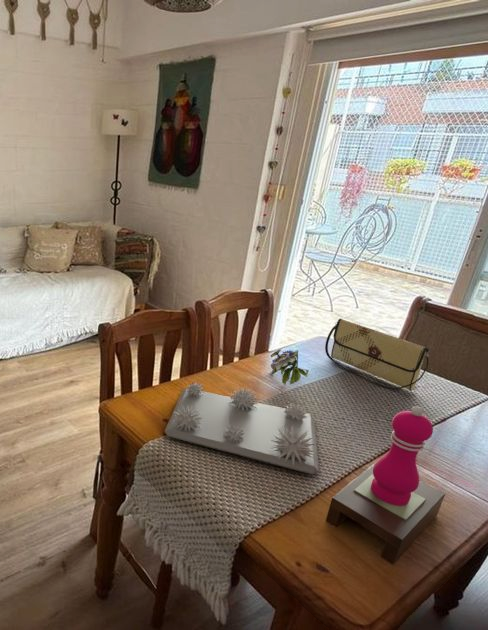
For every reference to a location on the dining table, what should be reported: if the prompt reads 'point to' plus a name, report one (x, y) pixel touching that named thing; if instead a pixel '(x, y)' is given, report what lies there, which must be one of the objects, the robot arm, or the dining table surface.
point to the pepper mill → (401, 458)
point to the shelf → (386, 513)
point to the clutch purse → (377, 354)
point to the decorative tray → (246, 428)
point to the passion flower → (283, 362)
